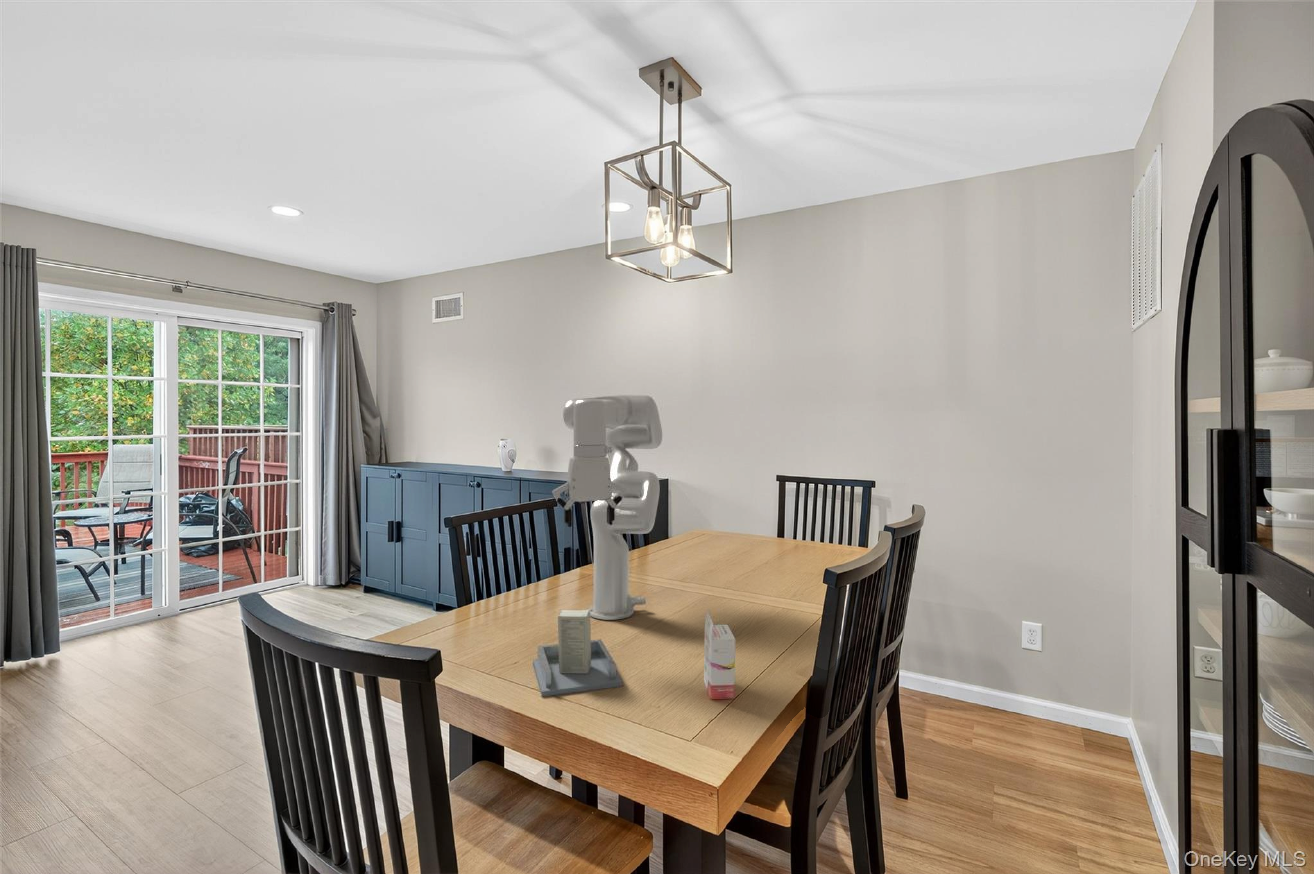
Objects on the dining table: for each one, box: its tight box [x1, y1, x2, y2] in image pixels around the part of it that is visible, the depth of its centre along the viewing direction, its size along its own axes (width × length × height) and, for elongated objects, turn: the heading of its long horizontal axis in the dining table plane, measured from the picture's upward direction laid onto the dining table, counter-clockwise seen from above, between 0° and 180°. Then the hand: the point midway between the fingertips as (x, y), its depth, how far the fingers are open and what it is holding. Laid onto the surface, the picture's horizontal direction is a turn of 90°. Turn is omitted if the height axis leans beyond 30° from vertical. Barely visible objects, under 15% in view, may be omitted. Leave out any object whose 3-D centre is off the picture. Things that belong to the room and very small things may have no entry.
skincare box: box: [557, 609, 592, 674], centre depth 127 cm, size 6×4×12 cm
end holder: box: [532, 639, 623, 697], centre depth 128 cm, size 16×16×4 cm
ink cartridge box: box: [703, 611, 736, 700], centre depth 121 cm, size 9×5×15 cm, turn 5°
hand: (589, 525), depth 144 cm, fingers open, 9 cm apart
